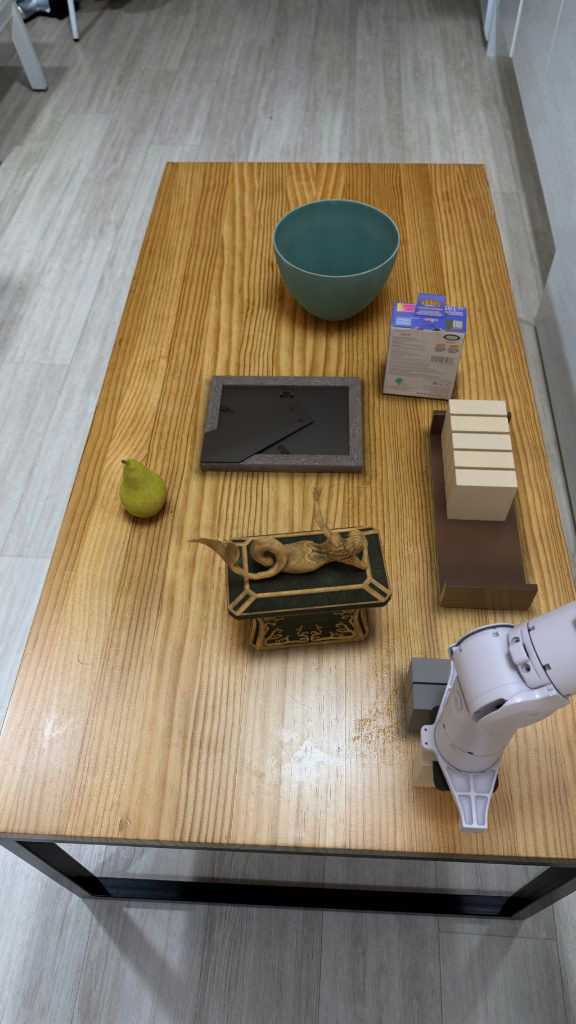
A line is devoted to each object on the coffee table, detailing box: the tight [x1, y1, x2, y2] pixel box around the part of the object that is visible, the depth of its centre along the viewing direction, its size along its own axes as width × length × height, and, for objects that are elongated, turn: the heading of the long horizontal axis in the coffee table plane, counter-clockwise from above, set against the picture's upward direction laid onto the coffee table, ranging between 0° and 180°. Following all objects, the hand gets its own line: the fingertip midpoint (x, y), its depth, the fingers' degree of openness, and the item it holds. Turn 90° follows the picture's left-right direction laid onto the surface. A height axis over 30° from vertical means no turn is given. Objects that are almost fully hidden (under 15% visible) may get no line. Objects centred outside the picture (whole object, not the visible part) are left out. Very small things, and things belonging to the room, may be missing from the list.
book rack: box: [428, 409, 539, 611], centre depth 91 cm, size 26×10×5 cm, turn 177°
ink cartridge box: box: [382, 292, 468, 401], centre depth 100 cm, size 10×6×14 cm, turn 81°
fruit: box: [119, 458, 168, 519], centre depth 90 cm, size 6×6×12 cm
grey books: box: [404, 657, 451, 733], centre depth 76 cm, size 5×8×6 cm
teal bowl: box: [272, 198, 401, 322], centre depth 112 cm, size 18×18×12 cm
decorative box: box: [185, 484, 393, 651], centre depth 78 cm, size 20×10×20 cm, turn 95°
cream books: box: [441, 398, 519, 521], centre depth 93 cm, size 14×7×7 cm, turn 177°
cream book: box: [412, 740, 502, 788], centre depth 70 cm, size 2×7×7 cm, turn 87°
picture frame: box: [199, 375, 364, 474], centre depth 101 cm, size 16×2×21 cm
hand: (451, 769), depth 72 cm, fingers closed on cream book, 2 cm apart
